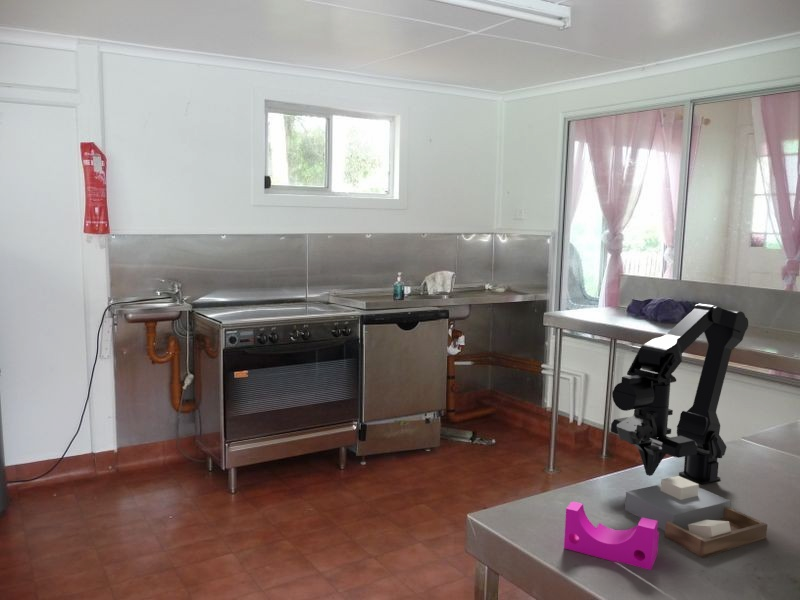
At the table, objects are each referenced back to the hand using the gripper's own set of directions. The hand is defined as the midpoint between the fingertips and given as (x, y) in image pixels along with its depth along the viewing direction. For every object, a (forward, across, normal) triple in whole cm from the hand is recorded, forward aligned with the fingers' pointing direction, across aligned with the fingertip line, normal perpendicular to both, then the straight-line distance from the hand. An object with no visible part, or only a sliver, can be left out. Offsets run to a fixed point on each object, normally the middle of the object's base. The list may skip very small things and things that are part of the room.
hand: (649, 475), depth 145 cm
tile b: (+1, +8, 0) cm, 8 cm away
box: (+5, +19, -3) cm, 20 cm away
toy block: (+5, +15, -25) cm, 29 cm away
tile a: (+1, +20, -6) cm, 20 cm away
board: (+5, +9, -2) cm, 10 cm away
